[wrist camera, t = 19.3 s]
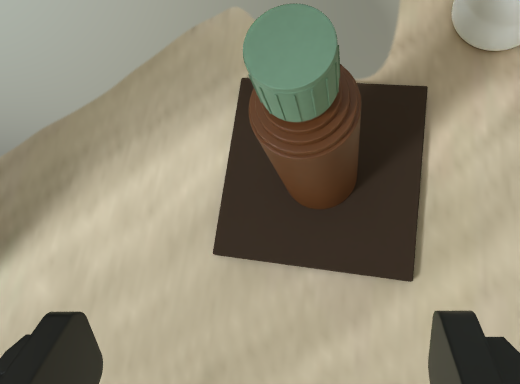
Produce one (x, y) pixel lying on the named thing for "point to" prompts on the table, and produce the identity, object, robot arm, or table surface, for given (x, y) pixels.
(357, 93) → the bottle
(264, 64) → the cap
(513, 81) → the table surface
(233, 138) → the coaster
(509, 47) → the water bottle
